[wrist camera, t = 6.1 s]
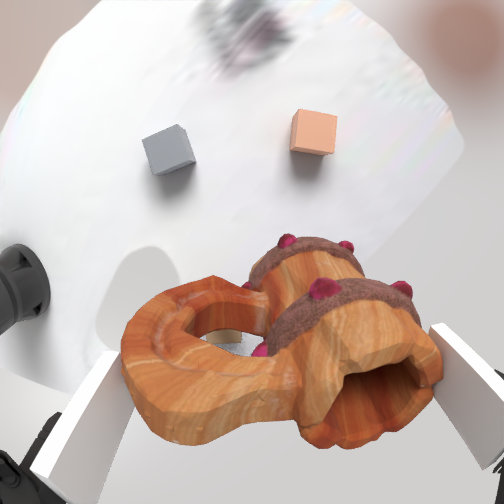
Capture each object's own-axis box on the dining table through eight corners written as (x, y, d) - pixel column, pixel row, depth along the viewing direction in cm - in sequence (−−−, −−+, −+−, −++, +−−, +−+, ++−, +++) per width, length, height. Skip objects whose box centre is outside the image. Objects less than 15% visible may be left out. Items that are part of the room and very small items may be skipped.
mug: (362, 234, 21) (506, 318, 7) (341, 324, 23) (424, 455, 9) (176, 214, 20) (59, 297, 6) (173, 312, 22) (114, 467, 8)
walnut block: (211, 327, 44) (207, 344, 39) (207, 299, 43) (202, 314, 38) (241, 325, 44) (241, 342, 39) (239, 297, 43) (238, 312, 38)
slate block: (164, 174, 38) (153, 174, 33) (154, 143, 36) (141, 139, 31) (196, 161, 37) (189, 159, 32) (185, 130, 36) (176, 124, 31)
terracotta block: (289, 150, 37) (295, 146, 32) (292, 116, 36) (298, 108, 31) (323, 155, 37) (333, 153, 32) (326, 122, 36) (337, 116, 31)
